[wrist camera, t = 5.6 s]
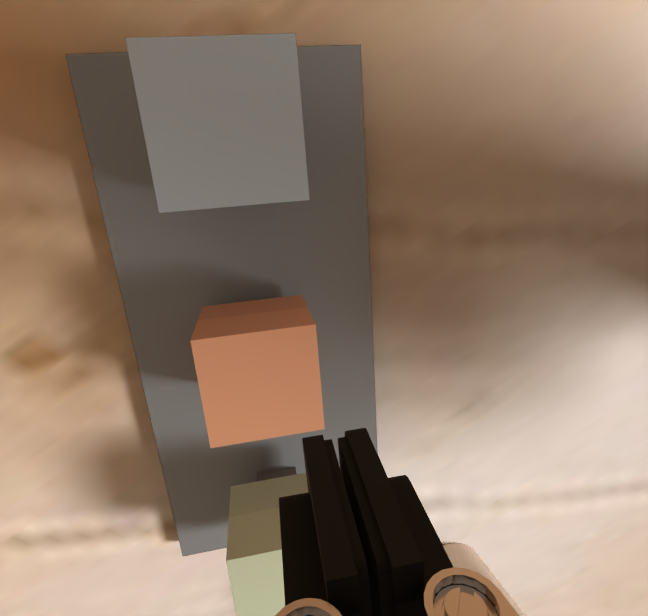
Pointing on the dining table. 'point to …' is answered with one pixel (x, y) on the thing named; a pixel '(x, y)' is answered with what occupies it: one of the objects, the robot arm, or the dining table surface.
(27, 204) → the dining table surface
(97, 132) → the button board
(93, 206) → the dining table surface
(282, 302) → the button terracotta
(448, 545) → the dixie cup
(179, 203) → the button slate
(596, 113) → the dining table surface
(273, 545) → the button sage
